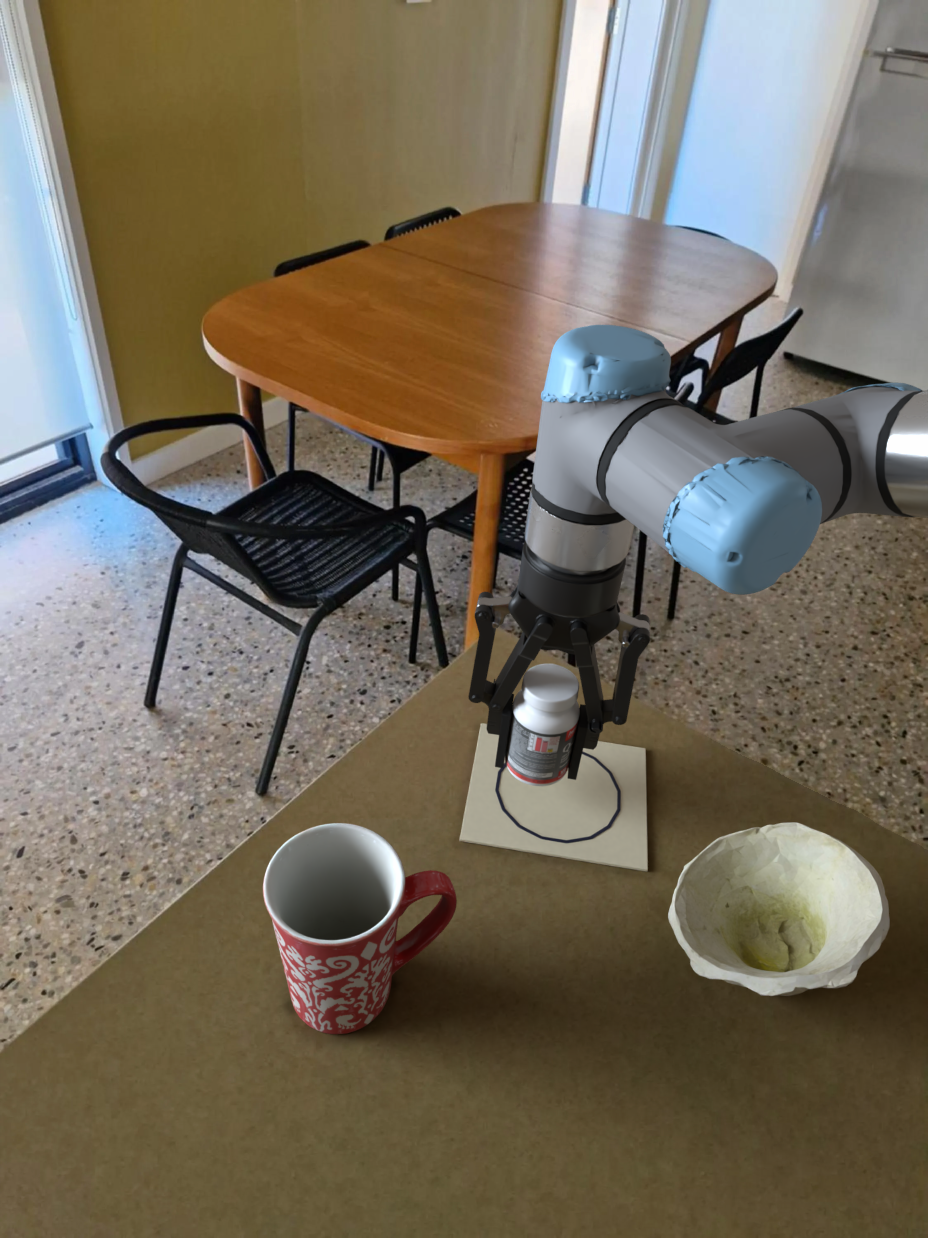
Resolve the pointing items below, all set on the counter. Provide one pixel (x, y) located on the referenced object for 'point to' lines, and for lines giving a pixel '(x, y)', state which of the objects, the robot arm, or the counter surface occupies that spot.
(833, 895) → the bowl
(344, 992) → the mug
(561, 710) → the pill bottle
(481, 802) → the beige flat square sheet
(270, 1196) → the counter surface
